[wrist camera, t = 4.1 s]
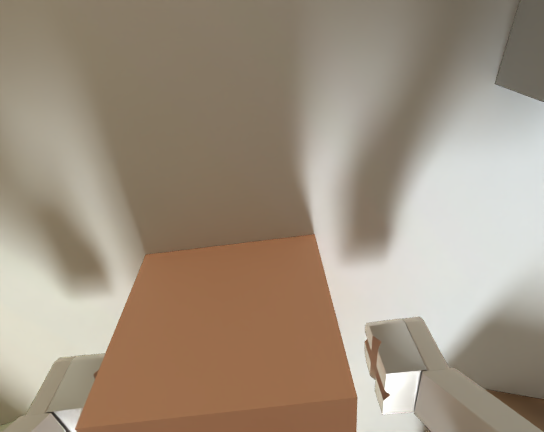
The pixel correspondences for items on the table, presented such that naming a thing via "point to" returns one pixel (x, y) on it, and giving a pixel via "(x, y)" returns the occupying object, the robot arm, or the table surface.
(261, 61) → the table surface
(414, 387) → the robot arm
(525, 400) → the walnut cube
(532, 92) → the slate grey cube
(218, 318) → the terracotta cube
